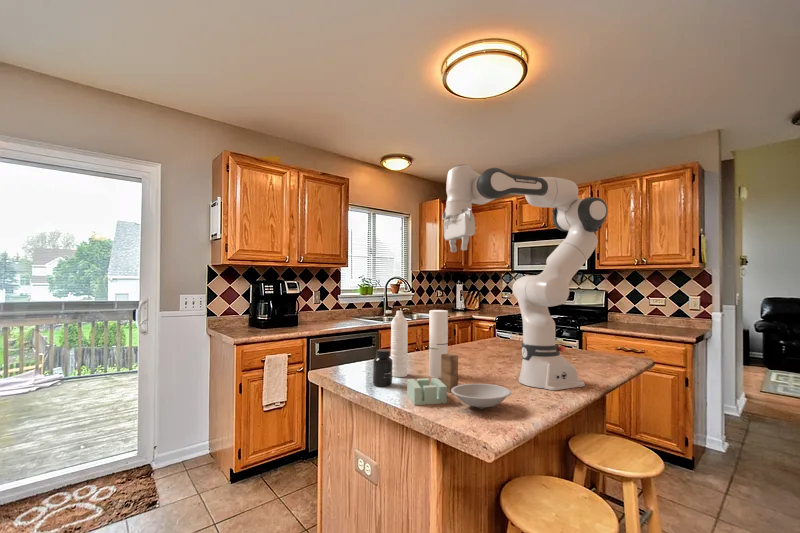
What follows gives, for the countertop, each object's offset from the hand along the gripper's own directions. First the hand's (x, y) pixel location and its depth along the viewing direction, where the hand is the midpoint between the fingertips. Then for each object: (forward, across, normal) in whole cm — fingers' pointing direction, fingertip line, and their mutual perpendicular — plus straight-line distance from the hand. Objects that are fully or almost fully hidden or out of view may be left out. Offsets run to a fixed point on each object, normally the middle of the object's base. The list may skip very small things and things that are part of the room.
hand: (458, 251), depth 131 cm
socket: (+47, -10, +14) cm, 50 cm away
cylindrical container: (+47, +16, +2) cm, 50 cm away
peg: (+47, -3, +4) cm, 47 cm away
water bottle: (+47, +20, +18) cm, 54 cm away
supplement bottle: (+47, +9, +25) cm, 54 cm away
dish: (+47, -20, +1) cm, 52 cm away
